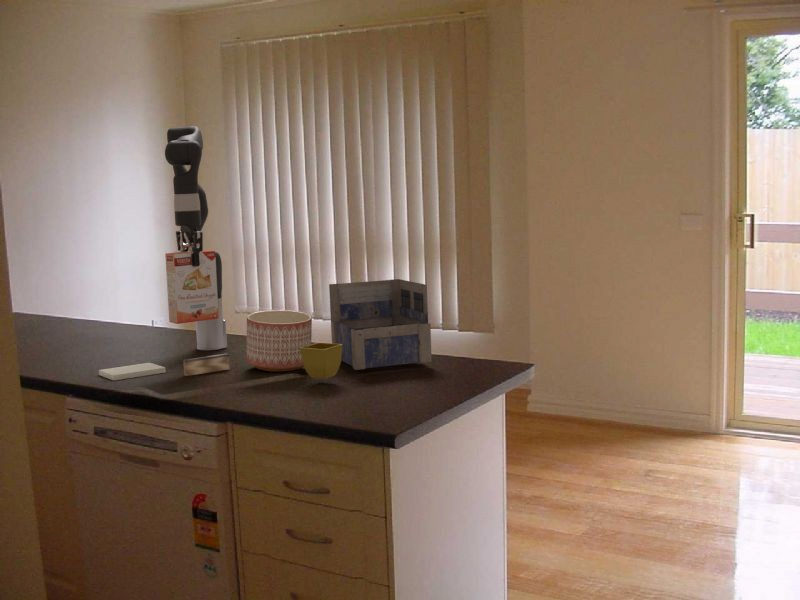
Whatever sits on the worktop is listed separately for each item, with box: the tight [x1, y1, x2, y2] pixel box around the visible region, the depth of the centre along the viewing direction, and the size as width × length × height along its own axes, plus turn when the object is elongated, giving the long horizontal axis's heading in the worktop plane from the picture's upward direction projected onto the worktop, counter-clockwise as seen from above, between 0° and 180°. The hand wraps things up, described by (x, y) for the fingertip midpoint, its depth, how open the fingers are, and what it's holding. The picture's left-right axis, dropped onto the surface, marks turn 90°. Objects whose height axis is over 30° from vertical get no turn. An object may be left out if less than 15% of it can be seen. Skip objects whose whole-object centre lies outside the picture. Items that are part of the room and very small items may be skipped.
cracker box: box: [165, 249, 219, 325], centre depth 282 cm, size 14×6×21 cm, turn 132°
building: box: [328, 278, 433, 371], centre depth 289 cm, size 23×24×23 cm
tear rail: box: [182, 353, 231, 377], centre depth 280 cm, size 14×2×5 cm, turn 127°
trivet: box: [98, 362, 167, 381], centre depth 282 cm, size 16×12×2 cm
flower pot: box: [300, 342, 342, 380], centre depth 265 cm, size 9×9×9 cm
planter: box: [246, 309, 313, 372], centre depth 282 cm, size 19×19×15 cm
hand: (191, 265), depth 282 cm, fingers closed on cracker box, 6 cm apart
